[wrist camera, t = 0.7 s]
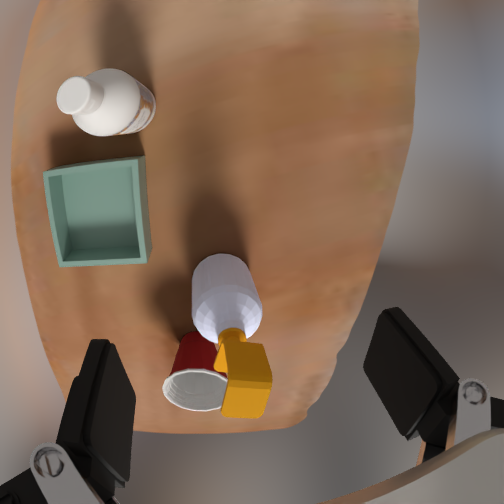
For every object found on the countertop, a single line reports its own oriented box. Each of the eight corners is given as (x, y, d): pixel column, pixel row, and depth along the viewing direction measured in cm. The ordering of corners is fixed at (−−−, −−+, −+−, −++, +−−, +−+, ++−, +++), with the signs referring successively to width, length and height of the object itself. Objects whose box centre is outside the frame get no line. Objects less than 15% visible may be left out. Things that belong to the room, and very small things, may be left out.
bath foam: (131, 143, 35) (72, 160, 17) (98, 112, 32) (20, 106, 14) (167, 106, 34) (136, 86, 16) (133, 74, 31) (78, 33, 13)
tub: (58, 166, 34) (42, 171, 30) (145, 155, 36) (137, 159, 32) (71, 252, 40) (59, 267, 35) (152, 248, 42) (147, 263, 37)
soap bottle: (187, 297, 46) (188, 430, 24) (200, 246, 43) (207, 371, 21) (240, 307, 49) (274, 433, 27) (257, 258, 46) (310, 378, 23)
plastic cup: (153, 337, 48) (147, 388, 38) (202, 309, 48) (206, 360, 37) (190, 371, 53) (192, 421, 42) (237, 348, 52) (247, 397, 41)
